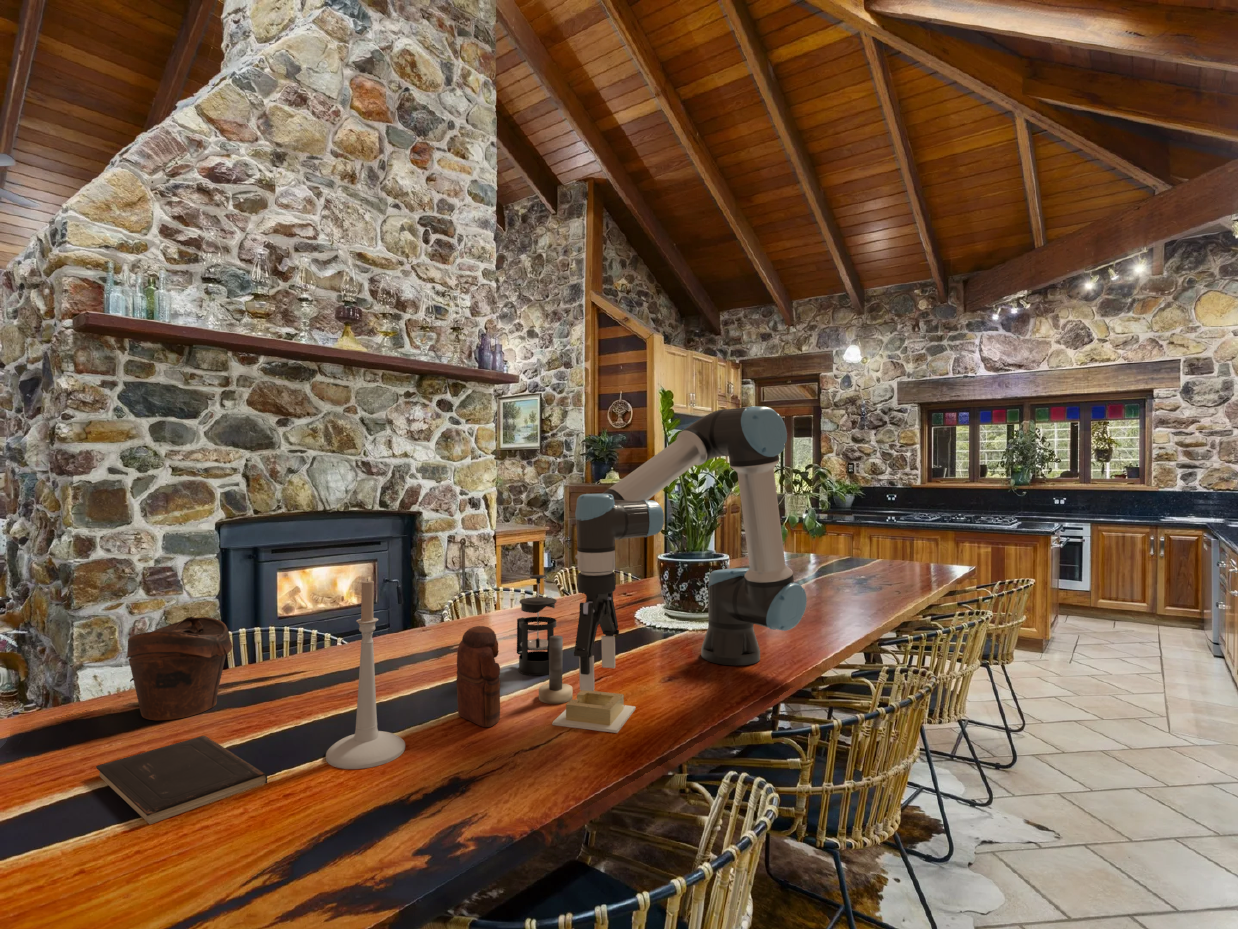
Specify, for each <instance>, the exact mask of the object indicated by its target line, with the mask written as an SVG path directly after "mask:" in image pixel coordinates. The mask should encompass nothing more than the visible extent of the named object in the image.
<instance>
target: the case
mask: <svg viewBox="0 0 1238 929" xmlns="http://www.w3.org/2000/svg"><path fill="white" fill-rule="evenodd" d="M126 650H127V653H126V659H128V661H129V667H130V672H131V675H132V678H130V681H129V682H130V683H131V682H132V681H133V684H134V688H135V689H134V690H135V694H136V698H137V702H138V705H139V711H140V715H141V718H143V719H146V720H148V721H156V722H157V721H170V720H171V721H172V720H178V719H183V718H188V717H192V716H195V715H198V714H201V713H204V712H206V711H208V710H210V709H212V708H214V707H215V706H216V705H217V702H218V693H219V688H220V683H221V678H222V675H223V669H224V665H225V660H226V657H227V656H226V655H228V654H229V653H231V651H232V650H233V643H232V640H231V637H230V632H229V628H228V627H227V625H226V624H225V622H223V621H221V620H219V619H217V618H213V617H208V616H205V617H203V616H202V617H195V616H189V617H186V618H184V619H182V620H181V621H176V622H174V623H171V624H169V625H165V626H163V627H160V628H159V627H158V628H157V629H155V630H151V631H147V632H142V633H138V634H135V635H132V636H130V637H128V638H127V649H126Z"/></svg>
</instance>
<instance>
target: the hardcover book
mask: <svg viewBox="0 0 1238 929" xmlns="http://www.w3.org/2000/svg"><path fill="white" fill-rule="evenodd" d="M95 768H96V769H97V770H98V771H99V778H100V779H101V780H103V782H105V783H106V784H107V785H108V786H109V787H110V788H111V789H112V790H113V791H114V792H115V793H116V794H117V795H118V796H120V798H122V799H123V800H124V801H125V802H126V803H127V804H128V805H129V806H130V807H131V808H132V809H133V810H134V811H135V812H136V813H137V814H138V815H139V816H140V817H142V819H144V821H146V822H147V823H148V824H149V825H153V824H155V823H158V822H161V821H163V820H167V819H169V818H171V817H175V816H178V815H180V814H183V813H186V812H188V811H191V810H194V809H197V808H199V807H202V806H206V805H208V804H211V803H214V802H216V801H219V800H222V799H225V798H228V797H231V796H233V795H236V794H238V793H242V792H245V791H247V790H250V789H254V788H256V787H259V786H261V785H264V784H268V775H267V774H266V773H265V772H264V771H261V769H259V768H257V767H255V766H254V765H252V764H251V763H249V762H248V761H246V760H245V759H242V758H241V757H239V756H238V755H237V754H235V753H233V752H232V751H230V750H229V749H227V748H225V747H224V746H223V745H221V744H219V743H217V742H216V741H215V740H213V739H211V738H210V737H208V736H207V735H201V736H197V737H194V738H190V739H187V740H183V741H180V742H176V743H172V744H169V745H166V746H163V747H159V748H154V749H151V750H148V751H144V752H140V753H137V754H133V755H130V756H127V757H123V758H119V759H116V760H113V761H110V762H109V761H108V762H106V763H103V764H99V765H96V766H95Z"/></svg>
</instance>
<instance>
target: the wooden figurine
mask: <svg viewBox="0 0 1238 929" xmlns="http://www.w3.org/2000/svg"><path fill="white" fill-rule="evenodd" d="M499 652H500V650H499V641H498V640H497V634H496V633H495V631H494V630H493V629H492V628H491V627H490V626H485V625H476V626H473V627H470V628H469V629H467V630H466V631H465V632H464V633H463V635H462V637H461V641H460V642H459V645H458V647H457V652H456V653H457V654H456V655H457V656H456V668H457V670H456V692H457V694H456V696H457V699H456V700H457V701H456V702H457V714H458V715H459V717H461V718H462V719H464V720H467V721H469V722H471V723H474V724H476V725H477V726H479V727H481V728H490V727H493V726H494V725H497V723H499V721H500V719H501V680H500V679H501V678H500V675H501V666H500V664H499V663H498V662H496V659H495V658H497V657H498V655H499Z"/></svg>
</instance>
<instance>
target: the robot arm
mask: <svg viewBox="0 0 1238 929" xmlns="http://www.w3.org/2000/svg"><path fill="white" fill-rule="evenodd" d="M787 441H788V432H787V426H786V424H785V422H784V419H783V417H782V416H781V415H780V414H779V413H778V412H776V410H774V409H773V408H772V407H767V406H758V405H753V406H752V405H750V406H745V407H737V408H736V407H735V408H724V409H722V408H721V409H718V410H714V411H712V412H710V413H708V414H706V415H703V417H701V418H699V419H698V420H695V422H693V423H691V424H690V425H689V426H687V427H685V428H684V429H682V430H681V431H680V432H679V433H678V434H677V436H676V439H675V441H673V442H671V443H670V444H669V445H668V446H666V447H665V448H663V449H662V450H660V451H659V452H658V453H657V454H655V455H654V456H652V457H651V458H650V459H648V460H647V461H645V462H644V463H642V464H640V465H639V467H637V468H636V469H634V470H633V471H632V472H630V473H629V474H627V475H626V476H624V477H622V478H621V479H620V480H619V481H617V482H616V483H615V484H613V485H612V486H611V487H609V488H607V489H606V490H605V491H604V492H602V493H583V494H581V495H579V496H578V497H577V499H576V507H575V508H576V509H575V513H574V515H575V522H576V549H577V551H576V552H577V553H576V554H575V557H574V558H575V559H576V560H577V571H579V572H578V574H577V591H578V592H579V593H580V594H584V595H585V596H586V598H585V602H583V601H582V602H580V603H579V614H578V622H577V623H578V624H577V631H576V638H575V646H574V652H573V656H574V657H578V663H579V664H578V665H579V666H578V670H579V673H578V674H579V691H581V690H586V691H596V690H595V655H593V650H594V646H595V640H596V636H597V631H598V627H599V625H600V628H601V631H602V634H603V635H601V641H600V642H601V668H606V669H615V668H616V636H619V635H620V630H619V624H618V619H617V612H616V609H615V608H616V607H615V602H614V592H615V591H616V588H617V587H616V583H617V582H616V573H615V572H614V571H615V570H616V541H619V540H621V539H622V540H623V539H633V538H647V537H651V536H655V535H657V534H659V533H660V532H662V529H663V528H664V523H665V514H664V511H663V510H664V509H663V508H662V506H661V504H659V502H657V501H656V500H650V499H651V498H653V497H654V496H655V495H656V494H658V493H659V492H660V491H662V490H663V489H664V488H666V487H667V486H669V485H670V484H671V483H672V482H674V481H675V480H676V479H678V478H679V477H680V476H682V475H683V474H685V472H687V471H689V470H690V469H692V468H693V467H694V466H701V465H704V464H705V463H706V462H707V461H709V460H712V459H715V458H721V457H728V459H729V460H728V461H729V467H730V468H731V469H732V470H734V472H736V473H737V480H738V487H739V488H738V489H739V494H740V495H739V496H740V504H741V512H742V518H743V526H744V527H743V529H744V534H745V541H746V542H745V543H746V551H747V557H748V566H749V567H741V568H740V567H739V568H736V567H735V568H725V569H717V570H716V569H715V570H712V571H711V572H710V573H709V576H708V585H707V592H708V593H707V596H708V597H707V604H708V606H707V608H708V609H707V613H708V618H707V619H708V621H707V623H708V624H707V630H706V633H705V636H704V639H703V642H702V645H701V648H700V650H701V651H700V652H701V653H700V654H701V658H702V659H703V660H705V661H707V662H709V663H712V664H717V665H718V664H719V665H723V666H748V665H753V664H754V665H755V664H756V663H759V662H760V660H761V648H760V646H759V643H758V640H757V636H756V633H755V630H754V628H755V627H754V625H757V626H760V627H764V628H768V629H769V630H778V631H784V632H785V631H790V630H792V629H794V628H795V627H797V625H798V624H799V623H801V620H802V618H803V616H804V614H805V612H806V609H807V601H808V600H807V599H808V598H807V592H806V590H805V589H804V588H803V586H802V585H801V584H799V583H797V582H795V578H794V571H793V570H792V568H790V567H789V566H788V565H786V557H785V551H784V550H785V549H784V541H783V533H782V526H781V517H780V509H779V501H778V500H779V499H778V493H777V485H776V476H775V467H776V466H777V464H778V463H779V462H780V457H779V456H780V454H781V453H783V451H784V450H785V448H786V445H785V444H786V443H787Z"/></svg>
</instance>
